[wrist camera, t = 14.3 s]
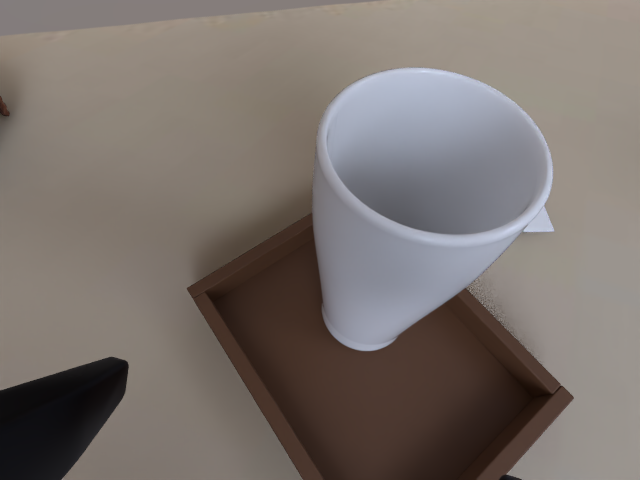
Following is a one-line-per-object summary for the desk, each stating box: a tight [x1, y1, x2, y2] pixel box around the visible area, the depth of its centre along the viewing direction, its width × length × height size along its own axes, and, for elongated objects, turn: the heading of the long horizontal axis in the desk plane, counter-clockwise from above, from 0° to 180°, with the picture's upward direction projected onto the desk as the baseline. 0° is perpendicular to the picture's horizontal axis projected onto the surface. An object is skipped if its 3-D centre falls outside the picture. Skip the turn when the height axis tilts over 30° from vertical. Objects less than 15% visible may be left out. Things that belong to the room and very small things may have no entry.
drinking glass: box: [312, 67, 553, 351], centre depth 17 cm, size 7×7×15 cm
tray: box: [187, 213, 574, 480], centre depth 21 cm, size 18×14×2 cm
